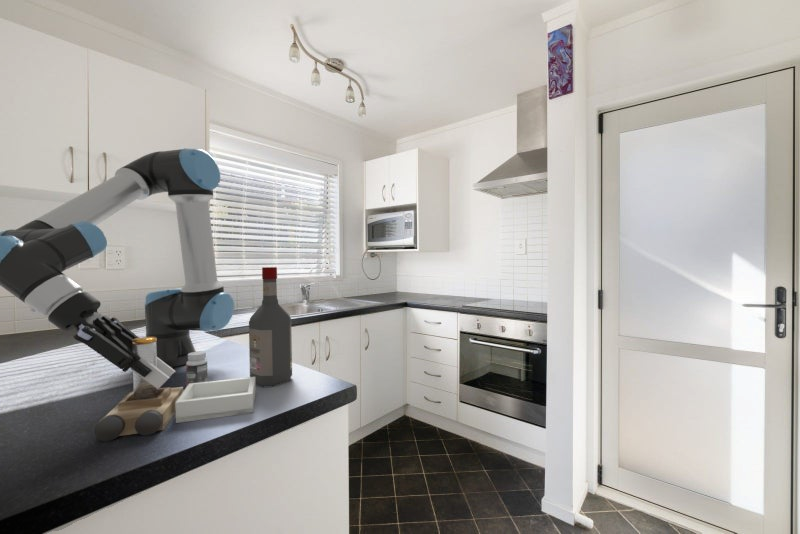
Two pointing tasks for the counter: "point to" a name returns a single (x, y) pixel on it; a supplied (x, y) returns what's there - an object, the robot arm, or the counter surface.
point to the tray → (216, 399)
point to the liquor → (270, 336)
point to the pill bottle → (196, 368)
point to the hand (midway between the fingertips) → (166, 379)
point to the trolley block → (139, 415)
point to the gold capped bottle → (148, 351)
